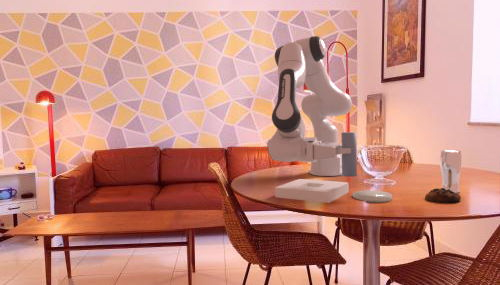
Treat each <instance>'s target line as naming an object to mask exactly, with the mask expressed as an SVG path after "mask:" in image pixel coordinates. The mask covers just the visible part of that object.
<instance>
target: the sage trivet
mask: <svg viewBox="0 0 500 285" xmlns="http://www.w3.org/2000/svg"><path fill="white" fill-rule="evenodd" d="M352 198H354V199H356V200H359V201H360V200H361V201H363V202H364V201H365V203H375V204H376V203H377V204H378V203H379V204H380V203H388V202H391V201H393V194H392V193H390V192H387V191H382V190H358V191H357V190H356V191H353V193H352Z"/></svg>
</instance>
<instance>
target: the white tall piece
mask: <svg viewBox="0 0 500 285" xmlns="http://www.w3.org/2000/svg"><path fill="white" fill-rule="evenodd" d="M439 160H440V161H439V162H440V163H439V167H440V172H441V178H442V180H441V181H442V183H441V188H445V190H447V189H449V190H451V191H452V192H455V193H457V194H459V193H460V187H459V185H460V184H459V182H460V176H461V171H462V151H461V150H453V149H452V150H451V149H445V150H441V151H440V158H439Z"/></svg>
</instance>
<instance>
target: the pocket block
mask: <svg viewBox="0 0 500 285" xmlns="http://www.w3.org/2000/svg"><path fill="white" fill-rule="evenodd" d="M349 184H350V183H349V182H346V181H345V182H343V181H333V180H320V179H307V178H304V179H303V178H298V179H295V180H293V181H289V182H287V183H284V184H280V185H278V186H275V187H274V189H275V191H274V192H275V193H274V194H275V197H274V198H279V199H287V200H298V201H306V202H315V203H316V202H318V203H324V204H325V203H327V204H330V203H332V202H333V201H335V200H337V199H339V198H340V197H342V196H345V195H346V194H348V193H349V189H350V188H349V186H350V185H349Z"/></svg>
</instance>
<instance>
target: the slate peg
mask: <svg viewBox="0 0 500 285" xmlns="http://www.w3.org/2000/svg"><path fill="white" fill-rule="evenodd" d="M341 146H342V148H351V153H350V154H341V156H342V175H341V177H350V178H351V177H357V176H358V167H357V166H358V165H357V150H358V149H357V147H358V146H357V132H353V131H351V132H350V131H347V132H341Z"/></svg>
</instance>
